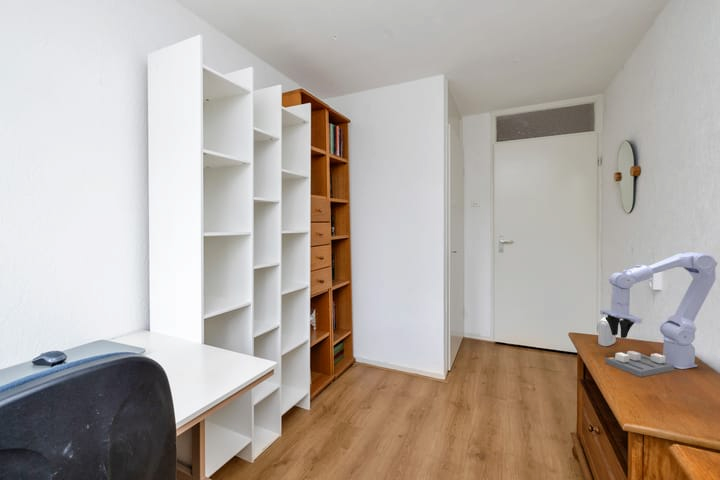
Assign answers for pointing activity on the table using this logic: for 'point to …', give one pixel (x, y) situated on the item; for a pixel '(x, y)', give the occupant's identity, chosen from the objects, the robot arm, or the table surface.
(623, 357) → the switch
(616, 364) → the switch panel
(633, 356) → the switch middle
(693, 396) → the table surface
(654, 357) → the switch
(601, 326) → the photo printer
